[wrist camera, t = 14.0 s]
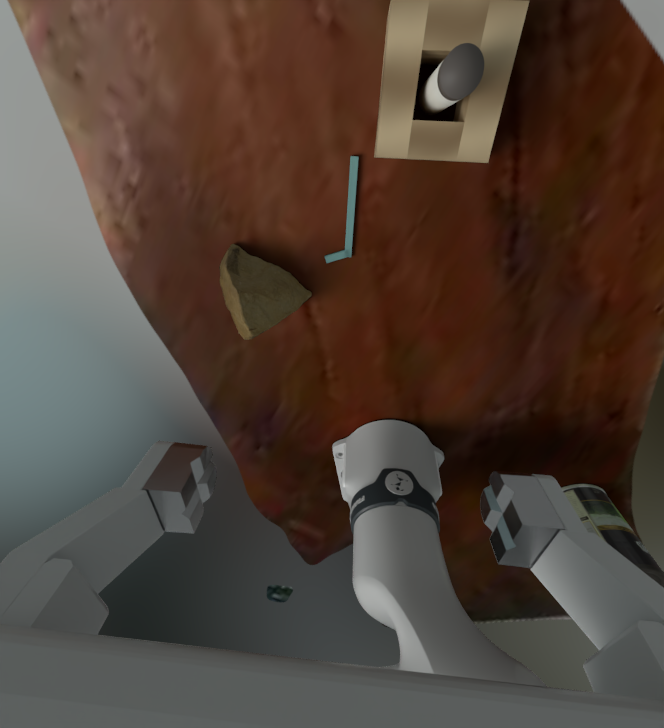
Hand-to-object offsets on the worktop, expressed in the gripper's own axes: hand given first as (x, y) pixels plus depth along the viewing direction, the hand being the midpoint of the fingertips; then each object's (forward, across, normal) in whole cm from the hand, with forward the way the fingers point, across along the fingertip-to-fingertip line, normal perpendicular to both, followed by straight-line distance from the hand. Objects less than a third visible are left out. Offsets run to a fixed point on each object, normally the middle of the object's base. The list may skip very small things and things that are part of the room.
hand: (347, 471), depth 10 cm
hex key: (+33, +2, -2) cm, 33 cm away
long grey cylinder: (+33, -6, -13) cm, 36 cm away
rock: (+33, +11, +5) cm, 36 cm away
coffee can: (+33, -43, +43) cm, 69 cm away
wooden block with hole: (+33, -6, -13) cm, 36 cm away
